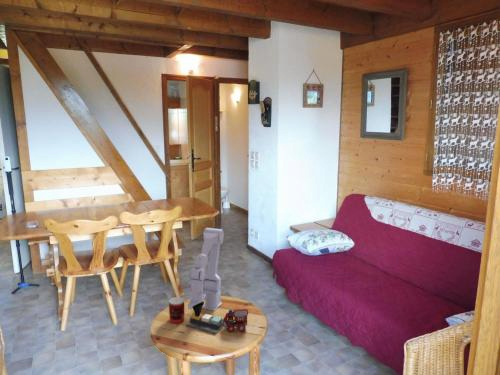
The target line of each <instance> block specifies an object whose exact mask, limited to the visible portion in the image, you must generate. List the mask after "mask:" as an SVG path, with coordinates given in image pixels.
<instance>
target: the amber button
mask: <svg viewBox="0 0 500 375" xmlns="http://www.w3.org/2000/svg"><path fill="white" fill-rule="evenodd" d="M203 314H204V313H201V314H200V316H199V317H198V316H195V315H194V314H193V315H192V316H191V317H192V319H196V320H200V319H201V318H202V317H203Z"/></svg>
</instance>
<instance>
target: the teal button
mask: <svg viewBox="0 0 500 375" xmlns="http://www.w3.org/2000/svg"><path fill="white" fill-rule="evenodd" d="M213 317H214V318H213V319H212V320H211V324H215V325H219V324H220V323H221V322H222V319H223V318H222V317H220V316H215V315H214V316H213Z"/></svg>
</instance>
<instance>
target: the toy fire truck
mask: <svg viewBox="0 0 500 375" xmlns="http://www.w3.org/2000/svg"><path fill="white" fill-rule="evenodd" d="M248 315H249V310H248V308H241V309H229V310H228V312H227V313H226V314H225V316H224V317H223V318H222V319H223V328H226V330H227V332H228V333H233V332H235V330H236V329H237V331H238V332H240V333H244V332H245V330H246V329H247V326H248ZM236 327H237V328H236Z"/></svg>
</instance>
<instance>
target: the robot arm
mask: <svg viewBox="0 0 500 375" xmlns="http://www.w3.org/2000/svg"><path fill="white" fill-rule="evenodd" d="M224 235H225V232H224V230H223V229H222V228H212V227H206V228H204V230H203V244H202V248H201V251H200V252H201V253H200V254H197V257H196V260H195V263H194V265H193V267H192V268H191V269H190V270H189V272H188V278H189V282H190V284H191V285H190V286H191V287H190V288H191V297H189V300H190V301H189V303H188V304H187V309H188V310H193V313H194V314H195V316H198V317H199V316H200V313H201V312H202V309H204V310H209V311H213V312H215V311H216V310H217V309H218V308H219V307H220V306H221V305H222V304H223V302H222V300H221V298H222V297H221V295H222V293H221V292H222V291H221V289H222V278H221V277H220V276H219V275H218V266H219V258H220V250H221V245H222V244H224V243H223V242H224V237H225V236H224ZM208 261H209V262H208ZM207 265H208V267H207ZM206 267H207V268H208V270H207V273H206ZM201 314H202V313H201Z"/></svg>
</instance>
